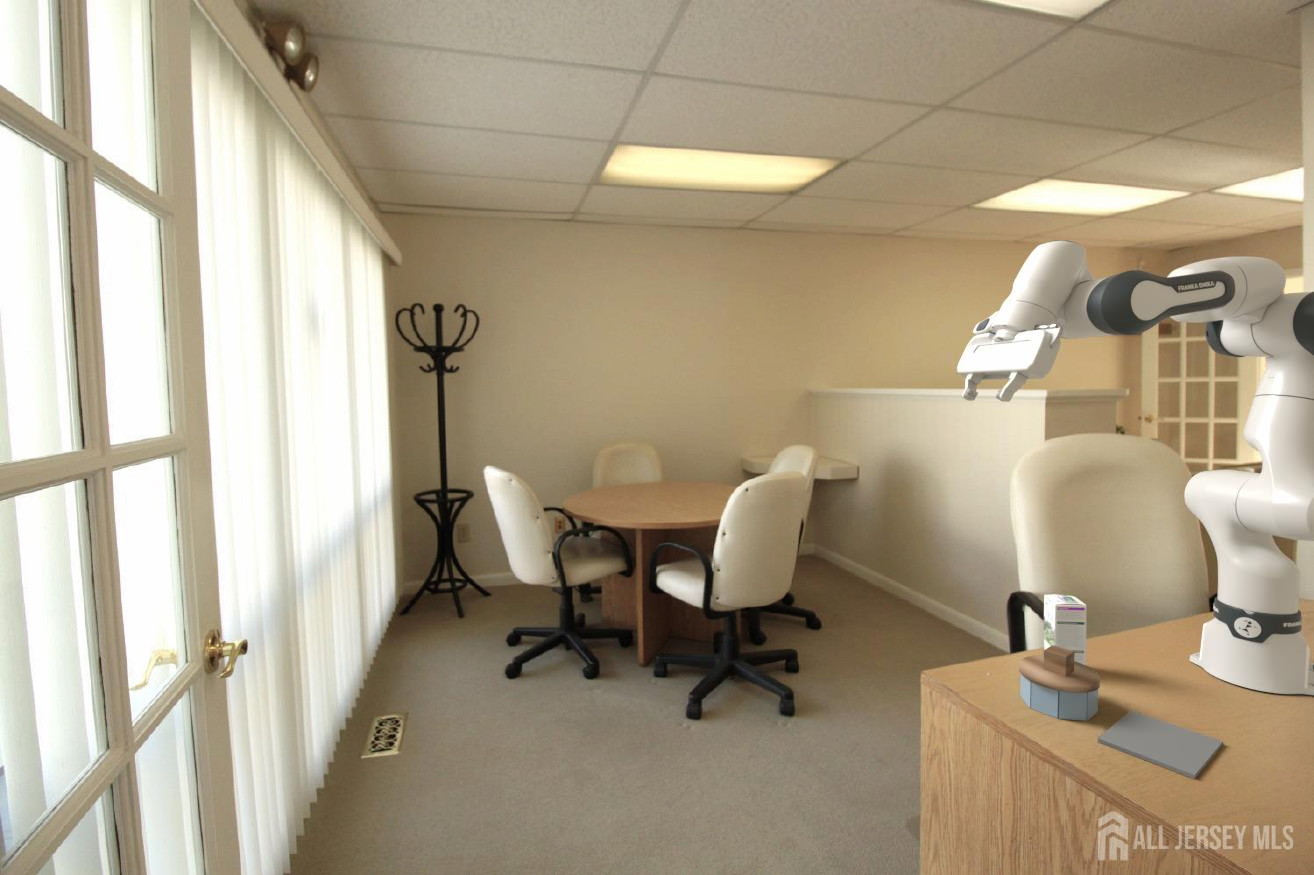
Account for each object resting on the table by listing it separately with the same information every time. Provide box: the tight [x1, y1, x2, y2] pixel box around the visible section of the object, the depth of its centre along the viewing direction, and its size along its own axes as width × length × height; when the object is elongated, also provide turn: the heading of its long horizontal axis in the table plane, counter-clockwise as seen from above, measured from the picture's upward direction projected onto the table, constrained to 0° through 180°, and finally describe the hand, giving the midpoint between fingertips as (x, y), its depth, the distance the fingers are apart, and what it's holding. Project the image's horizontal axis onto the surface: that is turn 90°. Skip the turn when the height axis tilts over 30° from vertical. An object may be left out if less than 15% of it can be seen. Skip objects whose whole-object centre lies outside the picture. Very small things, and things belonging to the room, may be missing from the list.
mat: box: [1097, 710, 1224, 780], centre depth 99 cm, size 14×12×1 cm
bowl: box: [1019, 673, 1099, 721], centre depth 111 cm, size 11×11×5 cm
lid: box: [1018, 645, 1101, 693], centre depth 111 cm, size 12×12×5 cm
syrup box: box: [1043, 593, 1088, 666], centre depth 124 cm, size 6×6×14 cm
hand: (983, 399), depth 108 cm, fingers open, 8 cm apart
